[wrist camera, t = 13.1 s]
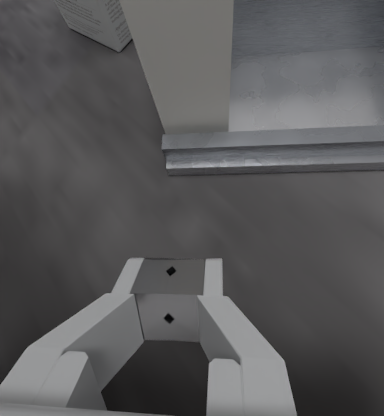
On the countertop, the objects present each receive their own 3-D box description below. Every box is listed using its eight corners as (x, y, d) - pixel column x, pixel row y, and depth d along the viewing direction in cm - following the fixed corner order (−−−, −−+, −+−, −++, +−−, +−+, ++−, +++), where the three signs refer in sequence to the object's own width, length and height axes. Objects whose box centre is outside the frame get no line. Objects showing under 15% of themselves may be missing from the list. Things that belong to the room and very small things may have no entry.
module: (167, 138, 17) (107, -34, 8) (171, 68, 19) (127, -135, 10) (228, 136, 17) (235, -48, 8) (226, 64, 19) (231, -151, 10)
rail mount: (169, 175, 18) (144, 118, 12) (175, 60, 21) (158, -28, 15) (429, 168, 16) (544, 98, 10) (392, 44, 19) (465, -62, 13)
